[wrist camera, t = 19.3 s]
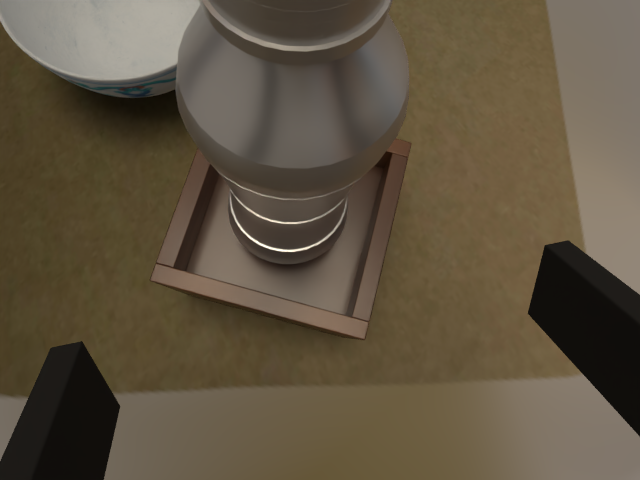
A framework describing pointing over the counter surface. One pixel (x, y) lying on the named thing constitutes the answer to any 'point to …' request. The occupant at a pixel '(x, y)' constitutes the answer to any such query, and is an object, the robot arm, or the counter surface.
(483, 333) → the counter surface
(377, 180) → the walnut box
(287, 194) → the metal bottle
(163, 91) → the chinaware
